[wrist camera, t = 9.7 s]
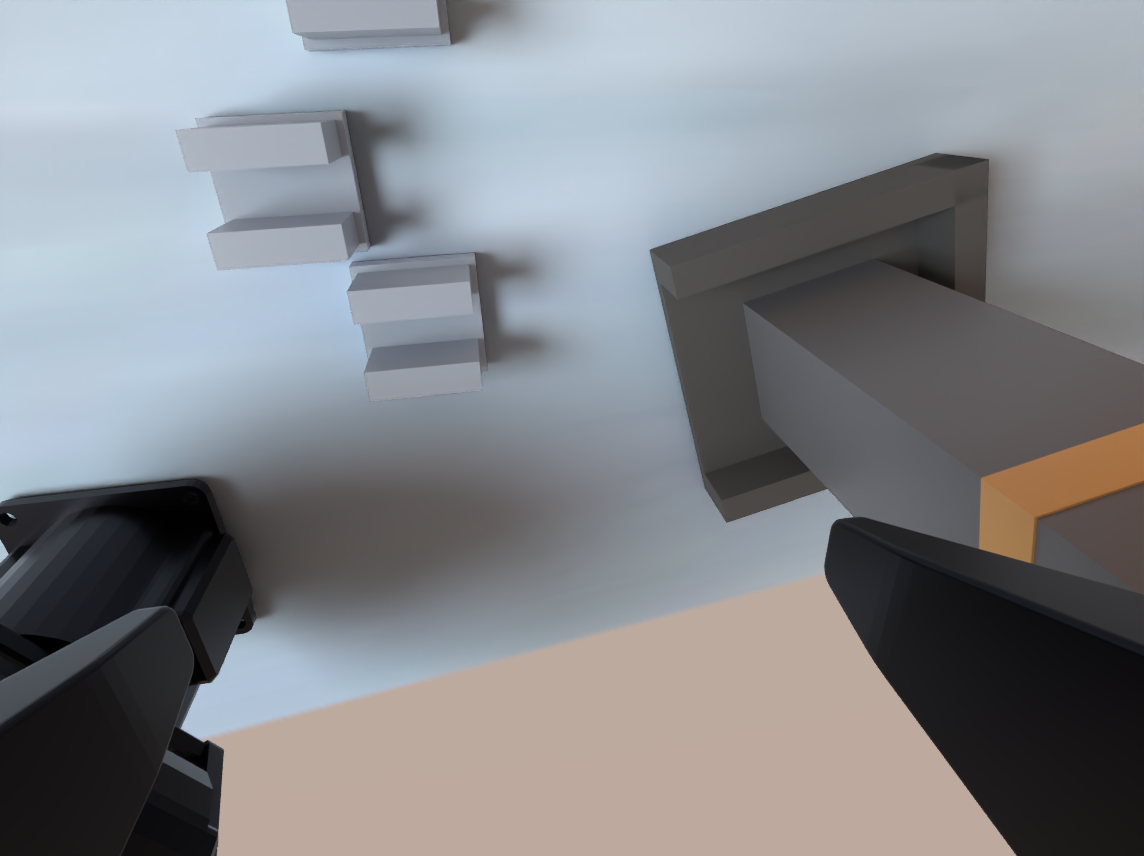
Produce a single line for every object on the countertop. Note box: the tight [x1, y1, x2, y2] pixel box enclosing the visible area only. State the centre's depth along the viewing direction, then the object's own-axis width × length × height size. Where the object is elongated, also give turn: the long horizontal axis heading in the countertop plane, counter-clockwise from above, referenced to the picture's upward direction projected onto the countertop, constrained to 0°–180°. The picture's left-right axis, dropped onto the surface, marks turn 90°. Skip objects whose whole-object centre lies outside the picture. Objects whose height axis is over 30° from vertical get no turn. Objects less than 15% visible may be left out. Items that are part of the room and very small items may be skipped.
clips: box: [175, 0, 488, 402], centre depth 17 cm, size 7×13×3 cm, turn 3°
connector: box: [743, 259, 1144, 594], centre depth 15 cm, size 5×5×16 cm
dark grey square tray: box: [650, 153, 989, 523], centre depth 21 cm, size 10×10×2 cm
